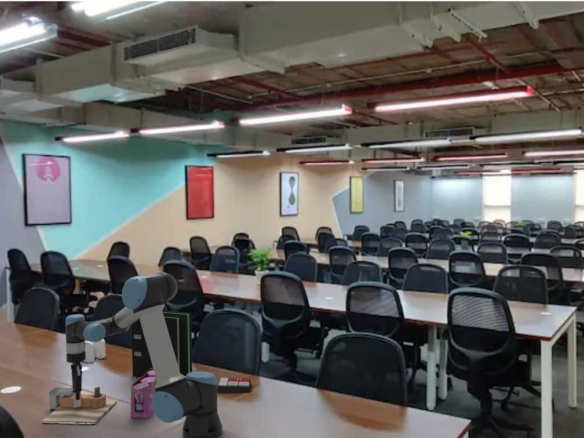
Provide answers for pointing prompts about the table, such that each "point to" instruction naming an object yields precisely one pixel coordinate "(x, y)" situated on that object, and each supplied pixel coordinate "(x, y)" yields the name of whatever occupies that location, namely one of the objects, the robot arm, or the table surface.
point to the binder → (180, 340)
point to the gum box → (143, 395)
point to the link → (84, 401)
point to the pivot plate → (81, 412)
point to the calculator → (234, 385)
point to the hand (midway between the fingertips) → (77, 406)
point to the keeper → (58, 396)
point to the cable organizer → (94, 350)
